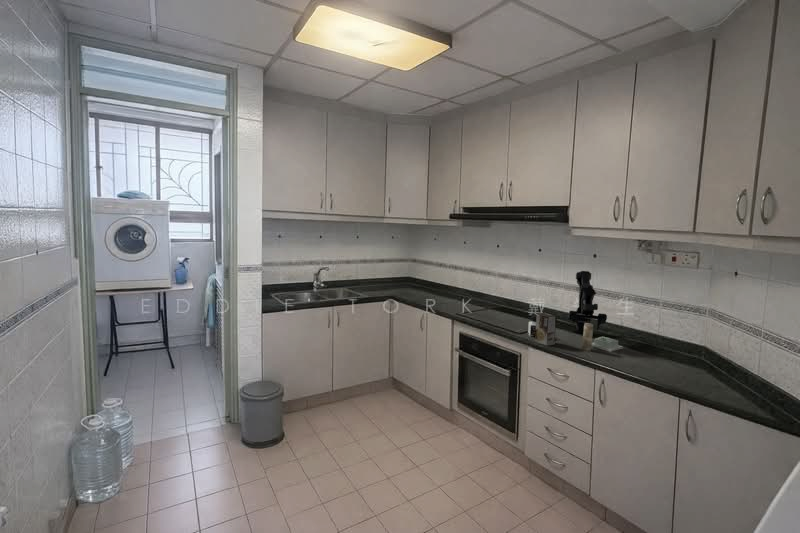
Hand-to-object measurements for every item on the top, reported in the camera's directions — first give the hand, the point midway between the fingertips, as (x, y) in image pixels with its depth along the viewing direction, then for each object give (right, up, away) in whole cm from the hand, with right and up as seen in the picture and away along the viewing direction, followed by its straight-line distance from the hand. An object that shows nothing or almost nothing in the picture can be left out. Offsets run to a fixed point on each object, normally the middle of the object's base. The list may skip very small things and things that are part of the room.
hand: (587, 330), depth 214 cm
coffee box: (-20, -9, +8) cm, 23 cm away
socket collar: (+12, -10, +4) cm, 16 cm away
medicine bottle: (-21, -7, +22) cm, 31 cm away
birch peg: (-1, -10, -1) cm, 10 cm away
